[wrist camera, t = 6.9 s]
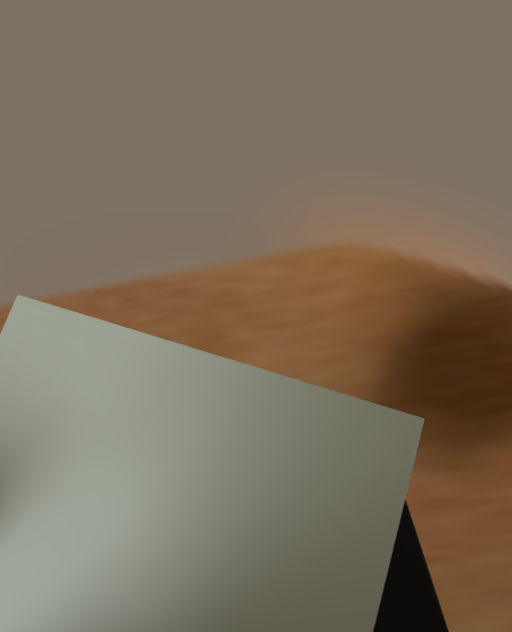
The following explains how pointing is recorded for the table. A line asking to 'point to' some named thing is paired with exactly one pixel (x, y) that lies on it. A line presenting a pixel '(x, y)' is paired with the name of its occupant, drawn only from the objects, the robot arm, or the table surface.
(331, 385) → the table surface
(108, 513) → the sage block
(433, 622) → the robot arm
